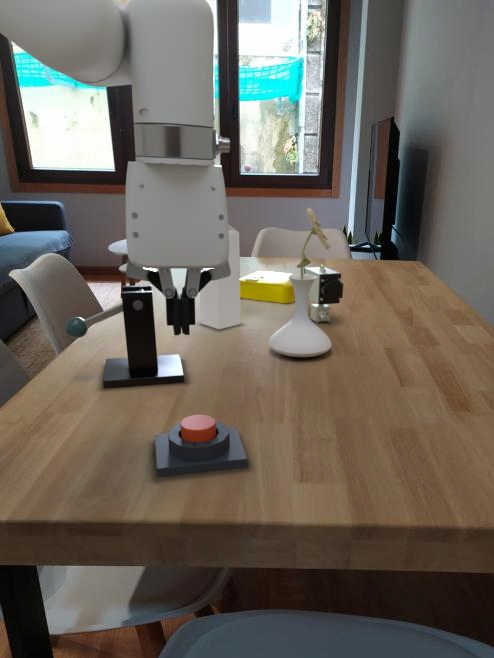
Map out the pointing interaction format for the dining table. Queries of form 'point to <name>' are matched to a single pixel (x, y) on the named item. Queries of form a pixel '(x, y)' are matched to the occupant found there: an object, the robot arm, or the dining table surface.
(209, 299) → the milk
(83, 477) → the dining table surface
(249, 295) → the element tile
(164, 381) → the lever base
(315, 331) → the flower in vase
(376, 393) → the dining table surface
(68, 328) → the tap lever
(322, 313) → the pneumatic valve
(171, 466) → the button housing
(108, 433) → the dining table surface
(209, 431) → the button
